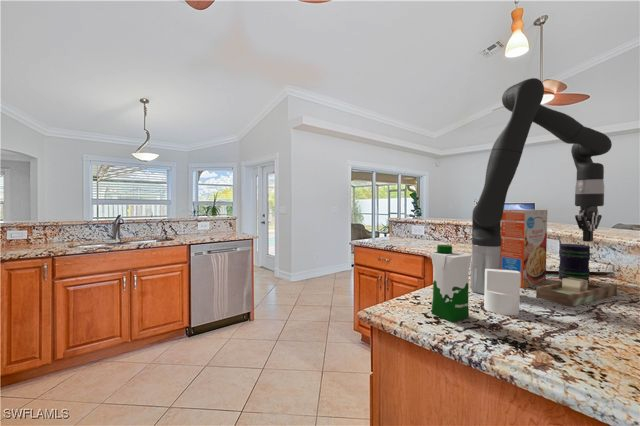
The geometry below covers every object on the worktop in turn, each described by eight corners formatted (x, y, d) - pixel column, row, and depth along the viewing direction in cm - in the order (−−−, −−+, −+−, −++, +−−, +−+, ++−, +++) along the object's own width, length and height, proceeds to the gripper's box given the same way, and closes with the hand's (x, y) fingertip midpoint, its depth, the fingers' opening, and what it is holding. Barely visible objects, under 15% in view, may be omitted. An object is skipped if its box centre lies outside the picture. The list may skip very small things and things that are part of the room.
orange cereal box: (523, 288, 108) (524, 210, 107) (500, 283, 115) (501, 210, 114) (545, 279, 121) (547, 209, 120) (523, 275, 128) (525, 209, 127)
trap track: (571, 306, 89) (571, 295, 89) (536, 297, 98) (536, 287, 98) (616, 294, 101) (616, 284, 101) (581, 287, 110) (581, 278, 110)
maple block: (579, 293, 95) (579, 282, 95) (561, 289, 100) (562, 278, 100) (587, 292, 97) (587, 280, 97) (569, 288, 102) (570, 277, 102)
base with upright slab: (487, 313, 84) (488, 272, 83) (481, 303, 92) (482, 266, 92) (523, 317, 81) (524, 275, 80) (514, 306, 89) (514, 268, 89)
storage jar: (568, 282, 116) (569, 246, 116) (552, 276, 126) (553, 243, 126) (596, 284, 115) (597, 247, 114) (578, 277, 124) (579, 244, 124)
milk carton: (446, 308, 88) (447, 243, 87) (474, 318, 80) (475, 247, 79) (426, 313, 83) (427, 245, 83) (453, 324, 75) (454, 250, 75)
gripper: (593, 192, 95) (591, 243, 95) (612, 192, 100) (611, 241, 101) (566, 193, 102) (564, 241, 102) (585, 193, 107) (584, 239, 108)
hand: (587, 241), depth 102 cm, fingers closed
